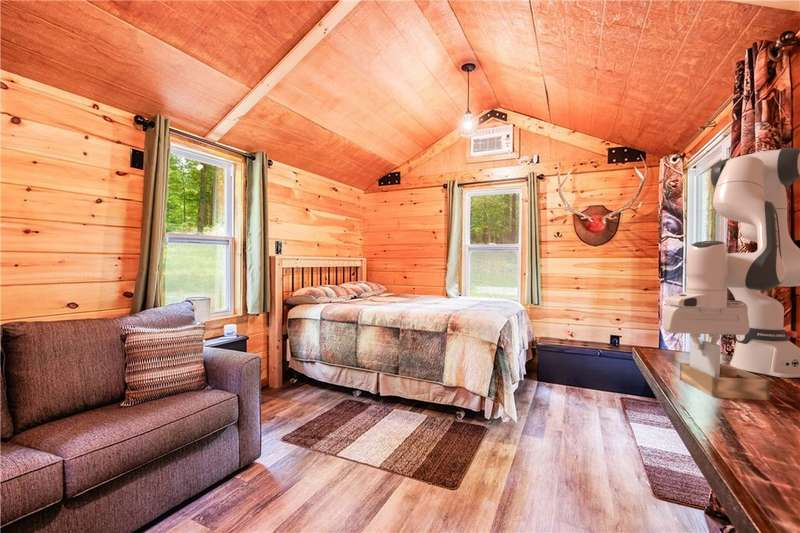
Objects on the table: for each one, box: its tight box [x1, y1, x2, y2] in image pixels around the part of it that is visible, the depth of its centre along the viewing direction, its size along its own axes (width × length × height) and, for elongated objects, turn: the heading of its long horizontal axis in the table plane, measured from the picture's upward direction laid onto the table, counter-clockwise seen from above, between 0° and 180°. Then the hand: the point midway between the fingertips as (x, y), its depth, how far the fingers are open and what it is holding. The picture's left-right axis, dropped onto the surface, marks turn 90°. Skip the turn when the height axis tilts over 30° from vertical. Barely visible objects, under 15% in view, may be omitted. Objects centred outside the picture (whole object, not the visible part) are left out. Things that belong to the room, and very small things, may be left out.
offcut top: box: [720, 362, 737, 378], centre depth 102 cm, size 4×7×2 cm, turn 173°
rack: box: [679, 362, 771, 401], centre depth 102 cm, size 13×14×6 cm
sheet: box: [689, 337, 721, 378], centre depth 102 cm, size 1×10×13 cm, turn 173°
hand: (704, 349), depth 102 cm, fingers closed on sheet, 1 cm apart
